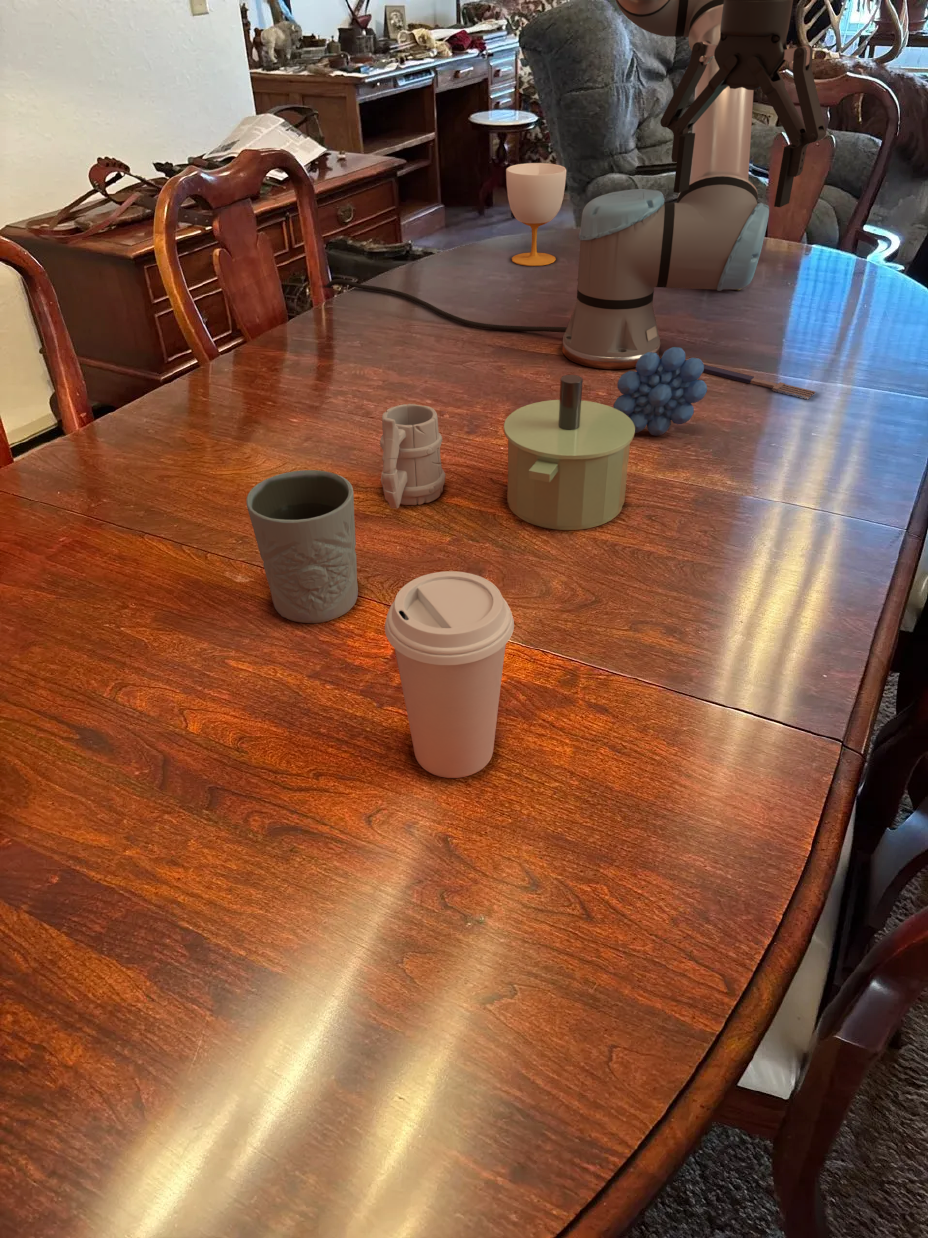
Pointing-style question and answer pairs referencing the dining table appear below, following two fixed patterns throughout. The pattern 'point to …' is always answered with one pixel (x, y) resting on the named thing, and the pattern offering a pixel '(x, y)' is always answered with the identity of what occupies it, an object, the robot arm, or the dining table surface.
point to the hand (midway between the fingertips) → (729, 197)
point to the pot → (566, 488)
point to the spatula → (760, 382)
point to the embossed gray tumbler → (307, 543)
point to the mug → (411, 455)
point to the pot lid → (569, 426)
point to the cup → (535, 202)
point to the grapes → (661, 390)
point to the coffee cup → (450, 667)
